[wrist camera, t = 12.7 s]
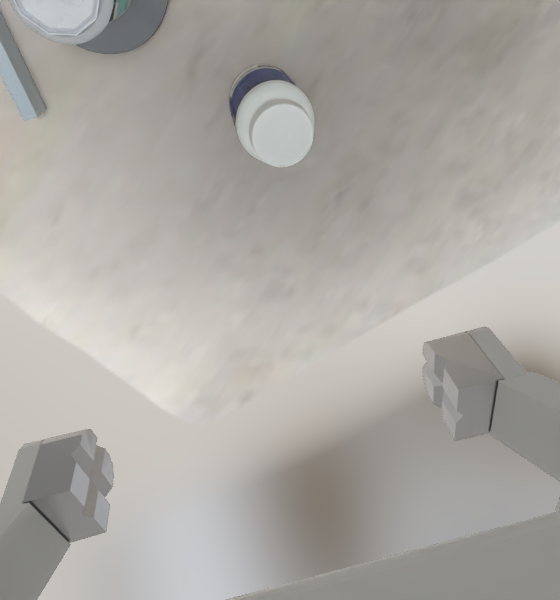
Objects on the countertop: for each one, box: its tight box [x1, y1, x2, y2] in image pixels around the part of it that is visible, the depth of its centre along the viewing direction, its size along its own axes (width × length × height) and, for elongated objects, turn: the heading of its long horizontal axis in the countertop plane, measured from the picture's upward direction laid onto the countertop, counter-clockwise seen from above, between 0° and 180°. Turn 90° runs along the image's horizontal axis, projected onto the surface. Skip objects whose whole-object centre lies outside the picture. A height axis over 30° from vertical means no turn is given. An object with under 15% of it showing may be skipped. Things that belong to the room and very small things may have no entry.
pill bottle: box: [229, 64, 315, 167], centre depth 33 cm, size 5×5×10 cm
